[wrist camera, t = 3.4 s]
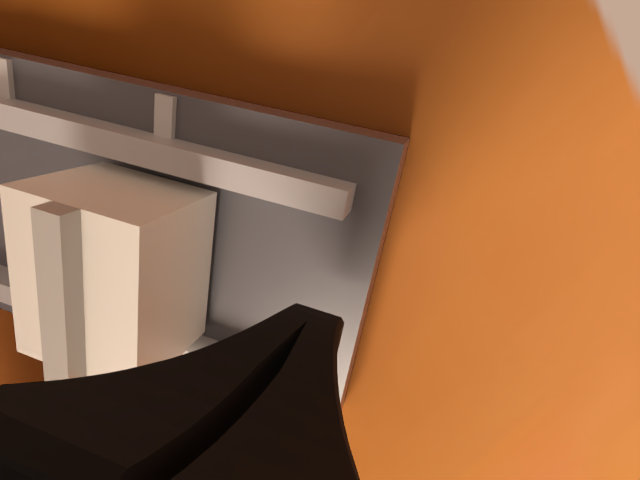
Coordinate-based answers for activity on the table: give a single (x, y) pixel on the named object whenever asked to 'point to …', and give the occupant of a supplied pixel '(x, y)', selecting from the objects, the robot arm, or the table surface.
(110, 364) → the fader tab
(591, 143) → the table surface
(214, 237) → the gray slider track
